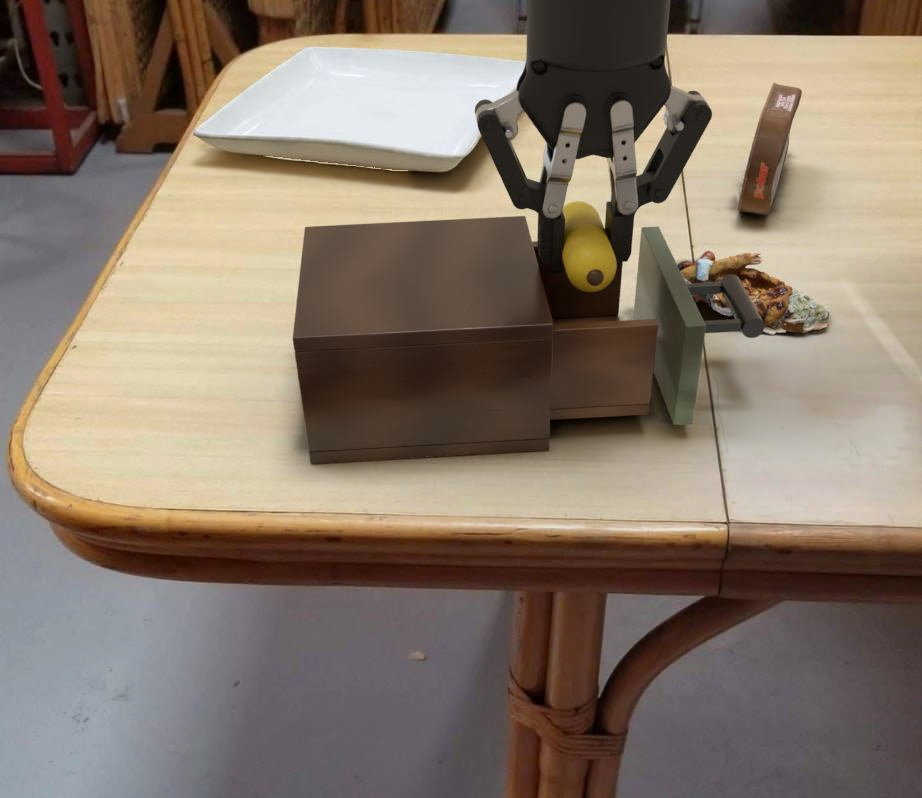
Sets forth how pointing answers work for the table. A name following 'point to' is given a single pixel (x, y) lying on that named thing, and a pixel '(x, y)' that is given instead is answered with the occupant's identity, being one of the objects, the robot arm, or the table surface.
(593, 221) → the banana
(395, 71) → the square plate
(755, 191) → the brown snack box
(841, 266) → the table surface
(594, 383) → the drawer
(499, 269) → the cabinet
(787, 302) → the brown sculpted figurine
